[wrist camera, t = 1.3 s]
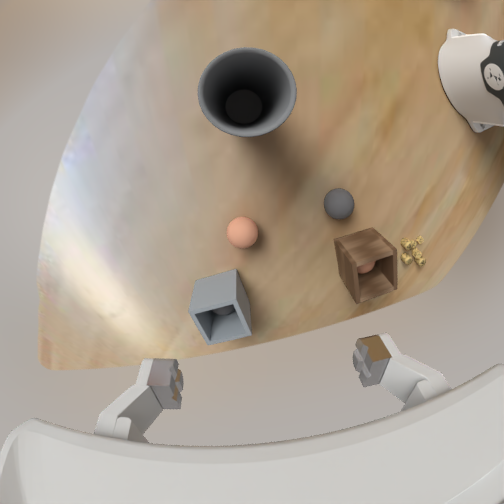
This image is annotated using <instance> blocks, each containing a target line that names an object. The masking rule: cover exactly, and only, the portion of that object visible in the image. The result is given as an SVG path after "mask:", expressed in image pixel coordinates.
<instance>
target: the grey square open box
mask: <svg viewBox="0 0 504 504" xmlns="http://www.w3.org/2000/svg"><path fill="white" fill-rule="evenodd" d="M231 304H233V305H234V307H235V308H234V310H233V311H232V312H231V313H229V314H227V315H218V314H216V313H214V312H213V311H212V309H216V308H220V307H224V306H228V305H231ZM188 312H189V314H190V315H191V317H192V319H193V321H194V323H195V324H196V326H197V328H198V330H199V331H200V333H201V335H202V336H203V338H204V340H205V341H206V343H207V345H212V344H217V343H221V342H225V341H230V340H234V339H238V338H242V337H246V336H251V335H252V329H251V314H250V302H249V299H248V297H247V294H246V292H245V289H244V287H243V284H242V282H241V279H240V277H239V274H238V272H237V269H234V270H230V271H227V272H223V273H220V274H217V275H213V276H210V277H206V278H203V279H199V280H196V281H195V285H194V289H193V293H192V298H191V302H190V306H189V311H188Z"/></svg>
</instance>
